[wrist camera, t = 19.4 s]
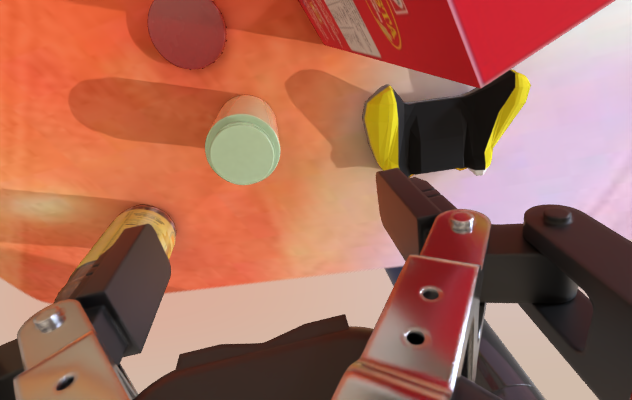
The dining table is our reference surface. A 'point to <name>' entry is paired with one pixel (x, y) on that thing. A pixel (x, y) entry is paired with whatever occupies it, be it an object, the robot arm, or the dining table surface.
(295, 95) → the dining table surface
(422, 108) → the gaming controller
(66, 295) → the sauce bottle
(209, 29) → the lid
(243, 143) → the jar
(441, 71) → the food packaging
